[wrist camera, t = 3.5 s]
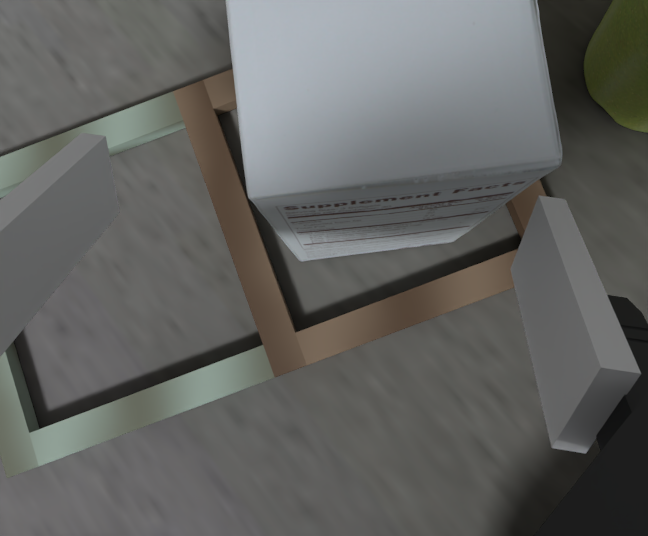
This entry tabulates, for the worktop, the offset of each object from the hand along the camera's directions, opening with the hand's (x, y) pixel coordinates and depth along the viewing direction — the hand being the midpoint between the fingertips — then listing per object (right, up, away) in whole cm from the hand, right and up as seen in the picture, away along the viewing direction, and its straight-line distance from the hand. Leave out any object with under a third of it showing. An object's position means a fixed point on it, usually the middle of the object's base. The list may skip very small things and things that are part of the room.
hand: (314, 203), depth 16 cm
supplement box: (+2, +2, +8) cm, 9 cm away
